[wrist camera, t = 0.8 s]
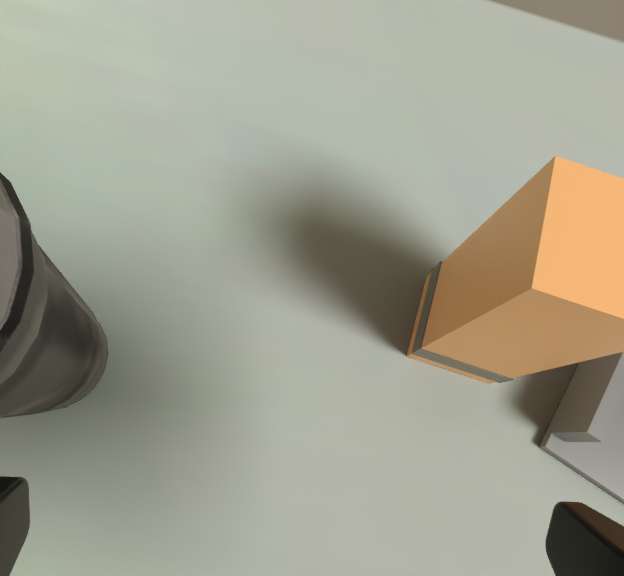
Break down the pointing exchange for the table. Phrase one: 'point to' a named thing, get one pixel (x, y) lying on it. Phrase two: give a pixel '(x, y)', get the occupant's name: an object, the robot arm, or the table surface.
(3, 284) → the beverage cup
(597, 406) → the holder
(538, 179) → the plug
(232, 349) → the table surface
